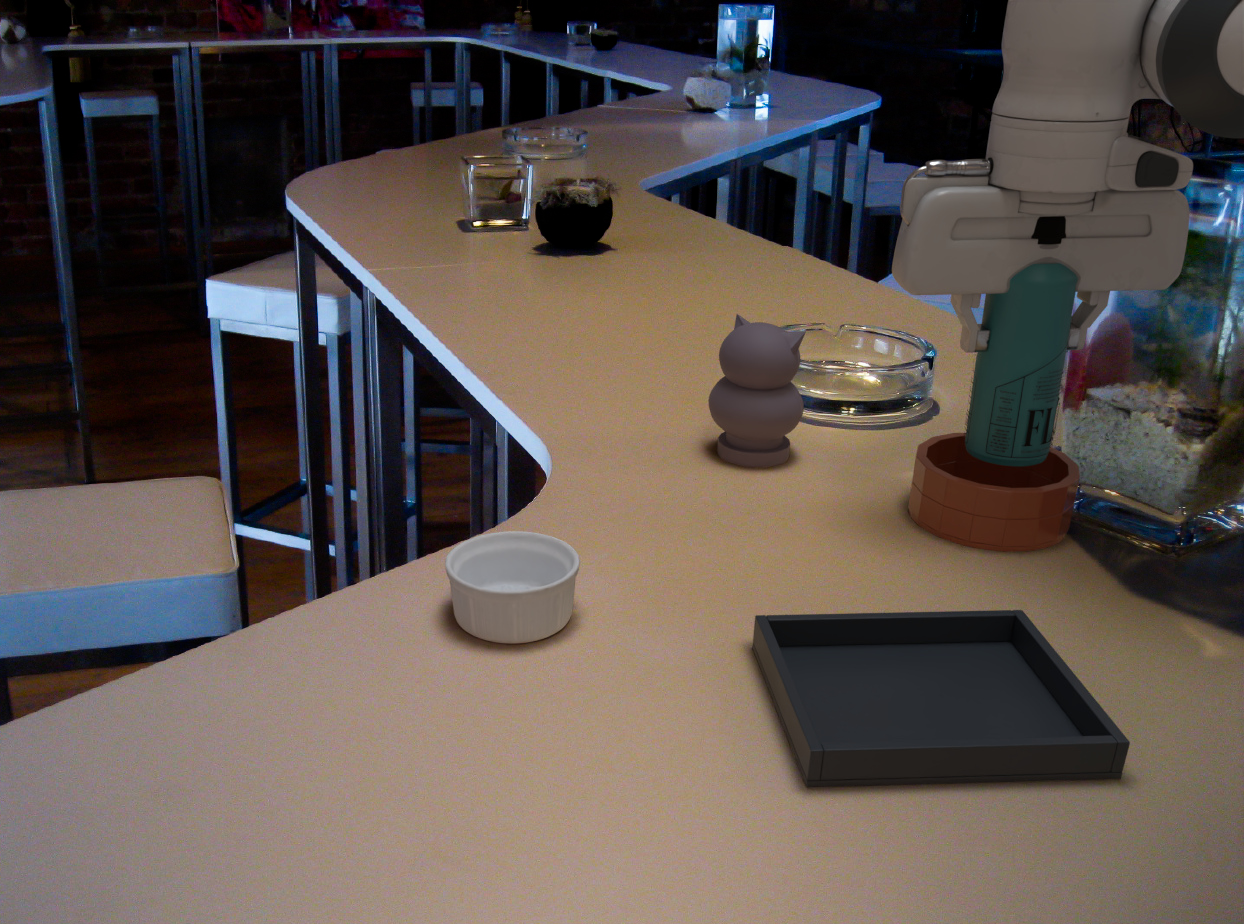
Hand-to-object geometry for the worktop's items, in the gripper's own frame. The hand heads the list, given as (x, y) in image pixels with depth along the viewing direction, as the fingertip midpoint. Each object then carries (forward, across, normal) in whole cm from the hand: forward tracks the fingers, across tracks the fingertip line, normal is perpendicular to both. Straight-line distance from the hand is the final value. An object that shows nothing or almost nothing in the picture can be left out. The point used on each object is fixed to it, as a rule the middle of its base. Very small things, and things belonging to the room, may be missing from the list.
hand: (1021, 349), depth 90 cm
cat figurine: (+14, -17, +14) cm, 26 cm away
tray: (+14, -15, -26) cm, 33 cm away
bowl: (+14, -1, 0) cm, 14 cm away
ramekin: (+14, -39, -14) cm, 43 cm away
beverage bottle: (+10, 0, 0) cm, 10 cm away
